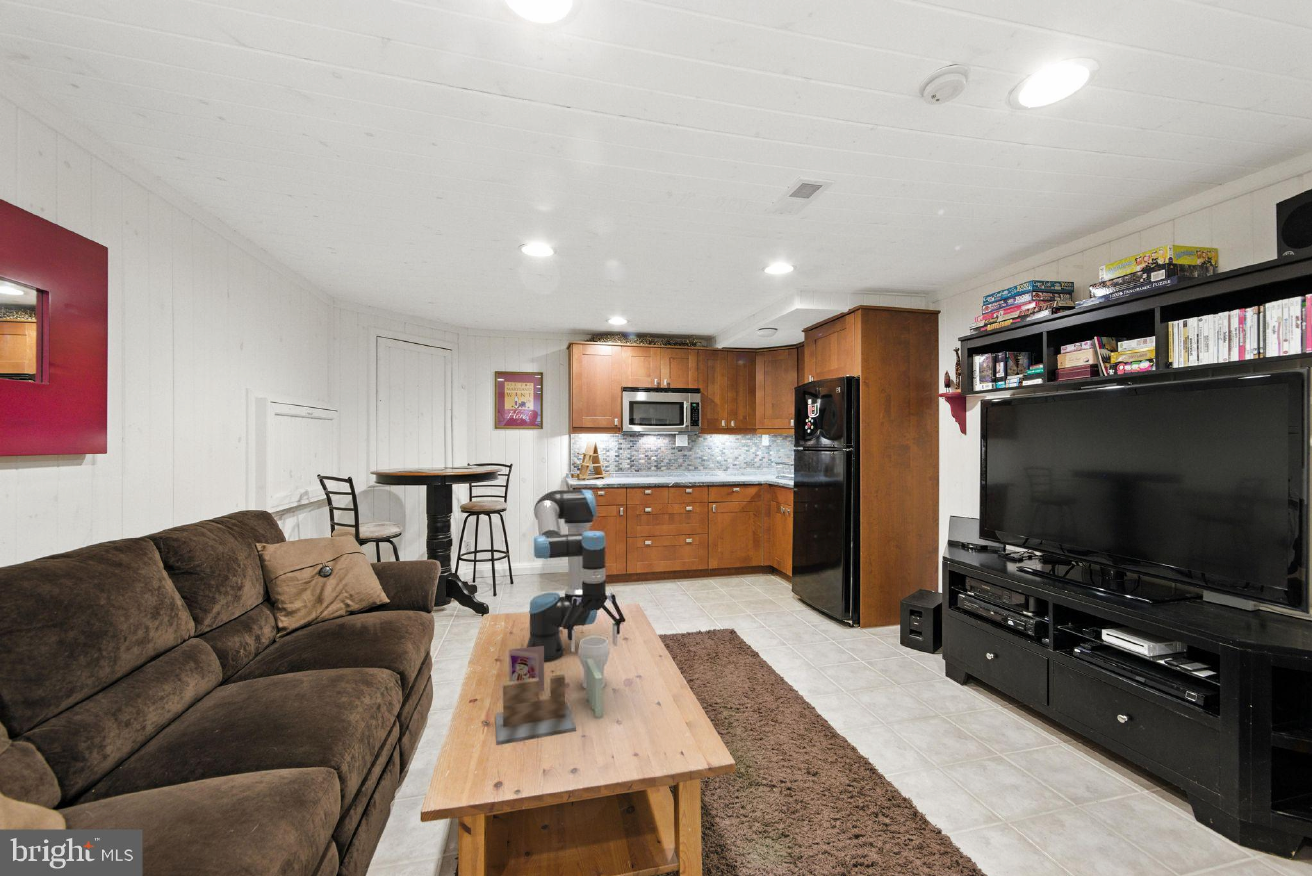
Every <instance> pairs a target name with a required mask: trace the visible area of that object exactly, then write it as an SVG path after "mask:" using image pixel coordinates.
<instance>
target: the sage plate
mask: <svg viewBox="0 0 1312 876" xmlns="http://www.w3.org/2000/svg"><path fill="white" fill-rule="evenodd" d="M585 690H586V691H585V692H586V693H585V694H586V699H587V701H588V702H589V705H590V707H591V710H592V711H594V712H595V713H594V715H595V716H594V717H595V718H596V719H599V718H603V687H602V676H601V674H600V672H599V670H598V668H597V666H596V665H595V663H594V661H593V659H586V689H585Z"/></svg>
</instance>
